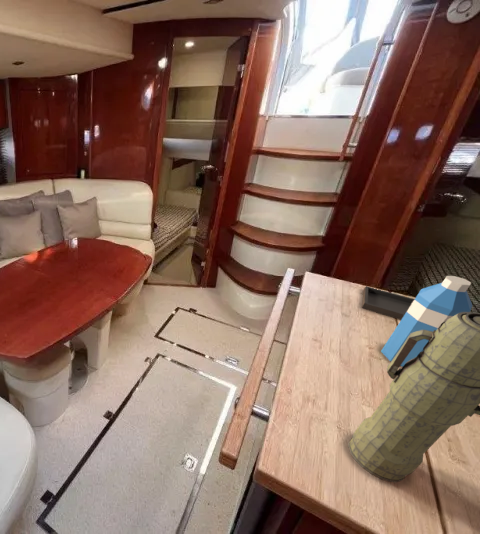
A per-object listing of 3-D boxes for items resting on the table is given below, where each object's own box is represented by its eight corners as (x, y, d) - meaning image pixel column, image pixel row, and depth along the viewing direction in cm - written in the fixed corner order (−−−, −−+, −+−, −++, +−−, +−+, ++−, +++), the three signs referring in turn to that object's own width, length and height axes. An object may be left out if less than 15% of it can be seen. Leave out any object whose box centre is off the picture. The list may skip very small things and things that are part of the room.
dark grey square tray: (413, 304, 102) (416, 299, 101) (416, 324, 94) (419, 319, 93) (363, 290, 110) (365, 285, 109) (361, 308, 101) (364, 303, 100)
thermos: (339, 424, 67) (426, 293, 49) (413, 459, 60) (544, 322, 43) (336, 456, 61) (434, 322, 43) (418, 499, 54) (573, 360, 37)
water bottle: (377, 340, 88) (424, 266, 76) (421, 352, 84) (478, 276, 71) (384, 362, 81) (437, 284, 69) (432, 376, 77) (498, 296, 65)
